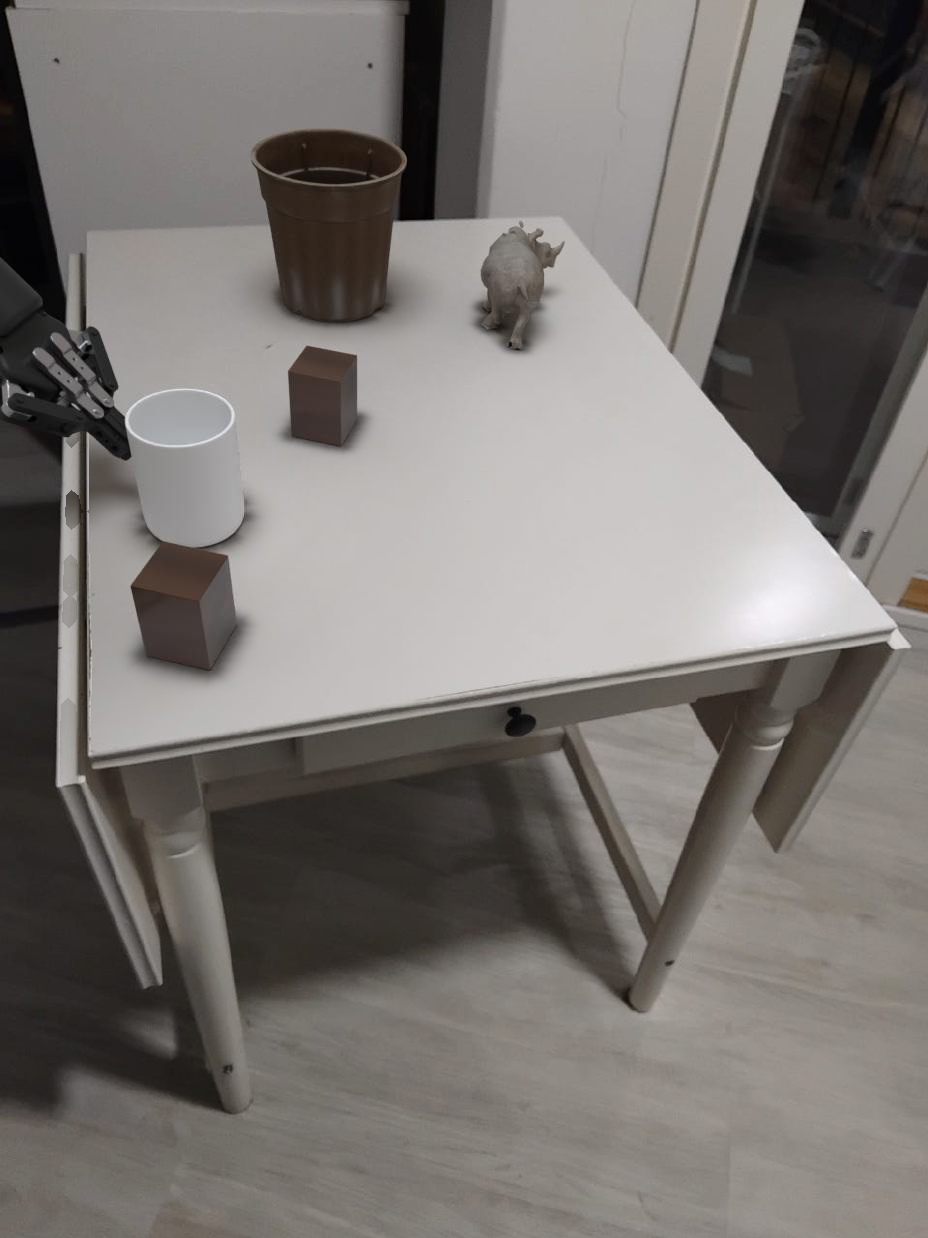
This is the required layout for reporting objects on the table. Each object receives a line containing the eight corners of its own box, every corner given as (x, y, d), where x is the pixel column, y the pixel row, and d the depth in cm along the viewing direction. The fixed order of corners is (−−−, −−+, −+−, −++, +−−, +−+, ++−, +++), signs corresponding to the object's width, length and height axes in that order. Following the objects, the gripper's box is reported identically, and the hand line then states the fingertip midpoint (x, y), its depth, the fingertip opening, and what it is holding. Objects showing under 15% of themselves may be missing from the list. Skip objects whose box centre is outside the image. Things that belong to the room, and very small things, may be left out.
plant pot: (284, 341, 103) (275, 189, 92) (245, 276, 113) (232, 132, 102) (422, 322, 108) (430, 176, 97) (373, 261, 119) (375, 123, 107)
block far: (341, 446, 90) (340, 381, 85) (291, 436, 90) (287, 370, 85) (357, 418, 93) (357, 354, 88) (309, 409, 94) (306, 345, 89)
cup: (151, 557, 77) (130, 453, 70) (135, 471, 84) (115, 370, 77) (253, 541, 79) (243, 439, 72) (229, 459, 87) (217, 360, 80)
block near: (210, 670, 69) (198, 601, 64) (145, 655, 69) (129, 585, 64) (237, 624, 72) (228, 555, 67) (175, 610, 73) (162, 540, 68)
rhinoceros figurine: (454, 327, 103) (495, 187, 100) (467, 346, 116) (504, 222, 114) (522, 348, 102) (565, 207, 100) (528, 364, 116) (566, 240, 113)
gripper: (-74, 297, 65) (122, 476, 73) (31, 224, 75) (195, 390, 82) (-117, 352, 70) (73, 517, 77) (-13, 277, 79) (147, 430, 86)
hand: (136, 451), depth 79 cm, fingers closed
